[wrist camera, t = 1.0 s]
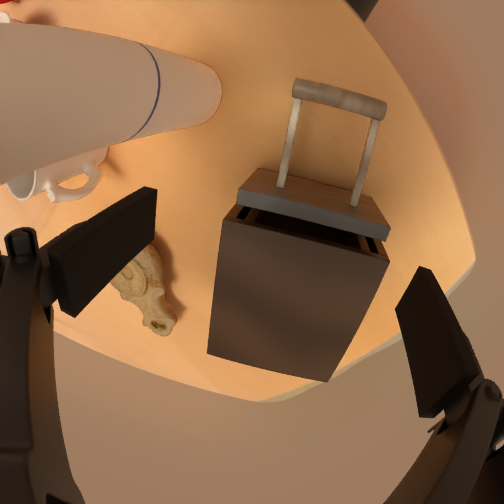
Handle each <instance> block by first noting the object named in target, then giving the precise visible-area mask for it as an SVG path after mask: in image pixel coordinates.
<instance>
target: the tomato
mask: <svg viewBox="0 0 504 504" xmlns="http://www.w3.org/2000/svg"><path fill="white" fill-rule="evenodd" d="M10 1H13V0H0V4H3V3H7V2H10Z"/></svg>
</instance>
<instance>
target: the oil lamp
mask: <svg viewBox="0 0 504 504" xmlns="http://www.w3.org/2000/svg"><path fill="white" fill-rule="evenodd" d="M163 276H164V268H163V264H162V260H161V258H160V256H159V254H158V252H157V251H156V250H155V248H154V247H153V246H152V245H151V244H150V243H149V244H148V245H147V246H146V247H145V248H144V249H143V250H142V251H141V252H140V253H139V254H138V255H137V256H136V257H135V258H134V259H132V260H131V261H130V262H129V263H128V264H127V265H126V266H125V267H124V268H123V269H122V270H121V271H120V272H119V273H118V274H117V275H116V276H115V277H114V278H113V279H112V280H111V281H110V283H111V284H112V285H113V286H114V288H115V289H117V290H118V291H119V292H120V296H121V298H122V299H123V300H126V301H130V302H132V303H133V304H135V305H136V306H137V307H139V309H140V310H141V312H142V313H143V316H144V318H143V326H147V327H149V328H150V330H152V331H153V332H154V333H156V334H158V335H160V336H168V335H169V334H170V333H171V331H172V328H173V327H174V326H175V324H176V323H177V317H176V313H175V311H174V309H173V308H172V307H171V306H170V305H169V304H168V303H167V302H166V300H165V295H164V294H165V292H166V290H167V287H166V284H165V281H164V278H163Z"/></svg>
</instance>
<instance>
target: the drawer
mask: <svg viewBox="0 0 504 504" xmlns="http://www.w3.org/2000/svg"><path fill="white" fill-rule="evenodd" d="M292 97H294V101H293V106H292V111H291V116H290V121H289V126H288V131H287V136H286V141H285V145H284V150H283V155H282V160H281V165H280V170H279V173H277V172H273V171H269V170H264V169H259V168H258V169H257V170H256V171H255V172H254V173H253V174H252V175H251V176H250V177H249V178H248V179H247V180H246V181H245V182H244V184H243V185H242V186H241V187H240V188H239V189H238V195H237V201H236V204H239V205H243V206H248V207H252V208H251V210H250V212H249V213H248V215H247V217H246V218H245V220H246V221H250V222H254V223H259V224H263V225H267V226H271V227H275V228H279V229H283V230H287V231H291V232H296V233H300V234H304V235H308V236H311V237H315V238H319V239H323V240H327V241H331V242H335V243H339V244H343V245H346V246H350V247H354V248H358V249H361V250H365V251H369V252H370V250H369V247H368V244H367V242H366V239H365V236H366V237H370V238H374V239H377V240H381V241H384V242H386V239H387V237H388V234H389V231H390V229H391V227H390V226H389V224H388V222H387V221H386V219H385V217H384V216H383V214H382V213H381V211H380V210H379V208H378V206H377V205H376V203H375V202H374V200H373V199H372V197H369V196H366V195H362V194H361V190H362V187H363V183H364V180H365V176H366V173H367V169H368V166H369V162H370V158H371V154H372V151H373V147H374V143H375V139H376V135H377V131H378V126H379V122H380V121H382V120H383V119H384V117H385V114H386V109H387V104H386V102H384V101H381V100H378V99H375V98H372V97H369V96H366V95H363V94H359V93H356V92H353V91H349V90H346V89H342V88H338V87H335V86H331V85H327V84H323V83H318V82H314V81H310V80H305V79H300V78H295V81H294V85H293V90H292ZM302 99H303V100H308V101H312V102H316V103H321V104H325V105H329V106H332V107H336V108H340V109H343V110H347V111H350V112H354V113H357V114H361V115H364V116H367V117H370V118H371V121H370V126H369V130H368V134H367V138H366V142H365V146H364V150H363V154H362V158H361V162H360V165H359V169H358V173H357V176H356V180H355V184H354V187H353V191H348V190H345V189H341V188H338V187H334V186H330V185H326V184H323V183H319V182H315V181H311V180H307V179H303V178H299V177H295V176H290V175H287V171H288V166H289V161H290V157H291V152H292V147H293V143H294V138H295V133H296V128H297V123H298V119H299V114H300V109H301V104H302Z"/></svg>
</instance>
